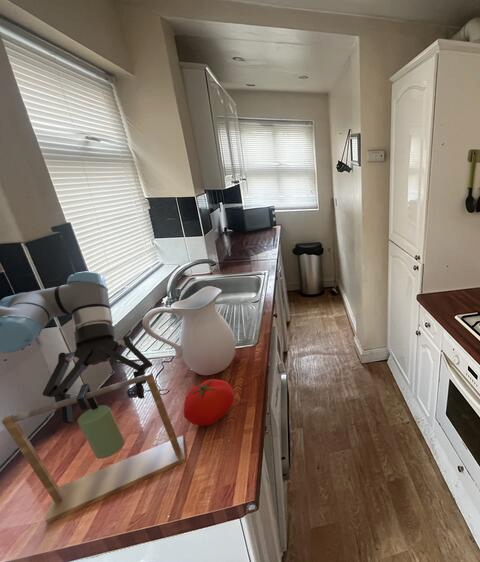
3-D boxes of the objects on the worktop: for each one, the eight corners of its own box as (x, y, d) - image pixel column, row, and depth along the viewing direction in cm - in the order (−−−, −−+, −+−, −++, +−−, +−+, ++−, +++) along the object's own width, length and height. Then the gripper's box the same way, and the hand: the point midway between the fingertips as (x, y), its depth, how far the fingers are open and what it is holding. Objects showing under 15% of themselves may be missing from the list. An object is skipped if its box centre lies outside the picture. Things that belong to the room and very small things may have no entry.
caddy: (93, 463, 65) (61, 404, 59) (97, 445, 69) (68, 388, 63) (123, 450, 68) (96, 393, 62) (125, 434, 72) (100, 379, 66)
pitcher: (229, 346, 121) (212, 281, 111) (247, 364, 110) (231, 294, 99) (159, 375, 106) (132, 303, 95) (171, 400, 95) (143, 321, 84)
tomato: (209, 397, 95) (200, 369, 91) (245, 401, 93) (238, 373, 89) (177, 432, 83) (165, 402, 79) (218, 437, 81) (208, 407, 77)
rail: (47, 524, 63) (-15, 437, 54) (57, 491, 69) (4, 408, 60) (186, 461, 75) (155, 381, 66) (184, 438, 82) (156, 362, 72)
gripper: (155, 319, 88) (170, 390, 82) (35, 347, 76) (43, 434, 70) (148, 309, 82) (164, 386, 76) (17, 339, 70) (23, 433, 64)
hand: (106, 409), depth 73 cm, fingers open, 13 cm apart
